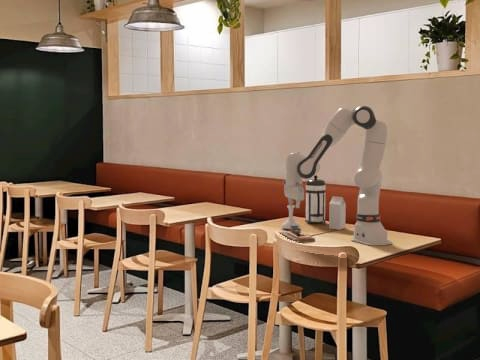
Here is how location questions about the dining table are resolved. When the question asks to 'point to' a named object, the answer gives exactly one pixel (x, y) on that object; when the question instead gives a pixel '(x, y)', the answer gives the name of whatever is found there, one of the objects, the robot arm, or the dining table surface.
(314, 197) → the coffee press
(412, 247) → the dining table surface
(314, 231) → the dining table surface
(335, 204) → the milk carton
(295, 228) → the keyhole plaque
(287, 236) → the mount board
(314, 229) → the dining table surface
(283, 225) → the flower in vase
